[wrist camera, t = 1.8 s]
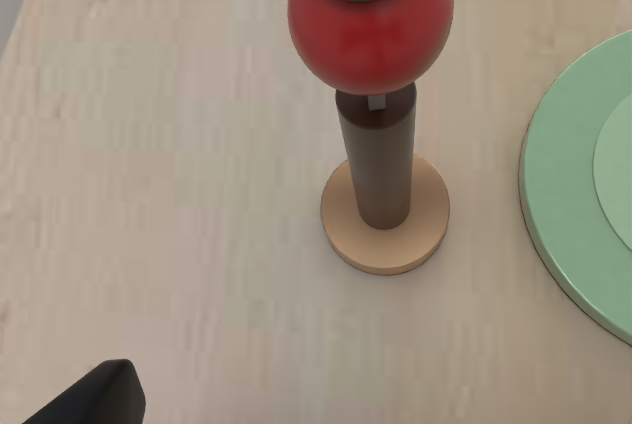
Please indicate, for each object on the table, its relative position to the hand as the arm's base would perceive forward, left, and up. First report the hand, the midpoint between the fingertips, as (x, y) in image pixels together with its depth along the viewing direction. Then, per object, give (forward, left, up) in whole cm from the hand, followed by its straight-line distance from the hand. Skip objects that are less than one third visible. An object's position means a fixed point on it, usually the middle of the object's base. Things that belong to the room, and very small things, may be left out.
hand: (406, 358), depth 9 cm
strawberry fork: (+6, +2, -12) cm, 14 cm away
